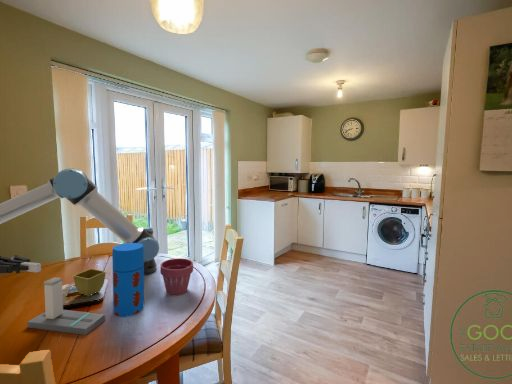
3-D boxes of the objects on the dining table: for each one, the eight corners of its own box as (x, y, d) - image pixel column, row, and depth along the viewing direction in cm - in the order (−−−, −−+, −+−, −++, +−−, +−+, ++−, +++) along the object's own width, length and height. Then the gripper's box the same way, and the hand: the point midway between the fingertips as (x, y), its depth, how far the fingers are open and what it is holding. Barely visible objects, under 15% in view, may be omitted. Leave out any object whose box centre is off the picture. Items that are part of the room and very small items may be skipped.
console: (27, 327, 91) (27, 321, 91) (51, 313, 100) (51, 307, 100) (85, 334, 88) (85, 328, 88) (105, 319, 97) (104, 314, 97)
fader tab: (45, 318, 93) (43, 282, 92) (55, 312, 97) (54, 277, 96) (53, 319, 92) (51, 282, 91) (63, 312, 96) (62, 278, 95)
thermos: (123, 320, 97) (122, 252, 95) (107, 311, 103) (106, 247, 100) (149, 307, 106) (149, 245, 104) (133, 299, 112) (132, 241, 110)
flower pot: (106, 291, 119) (106, 271, 118) (88, 299, 111) (88, 278, 110) (91, 287, 122) (91, 268, 121) (73, 296, 114) (72, 275, 113)
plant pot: (196, 294, 118) (197, 266, 117) (163, 301, 111) (163, 271, 110) (188, 282, 131) (188, 256, 130) (157, 287, 124) (157, 260, 123)
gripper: (1, 266, 104) (55, 271, 101) (-40, 279, 91) (20, 286, 88) (0, 247, 103) (55, 251, 100) (-41, 258, 90) (19, 263, 87)
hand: (38, 267), depth 94 cm, fingers closed
